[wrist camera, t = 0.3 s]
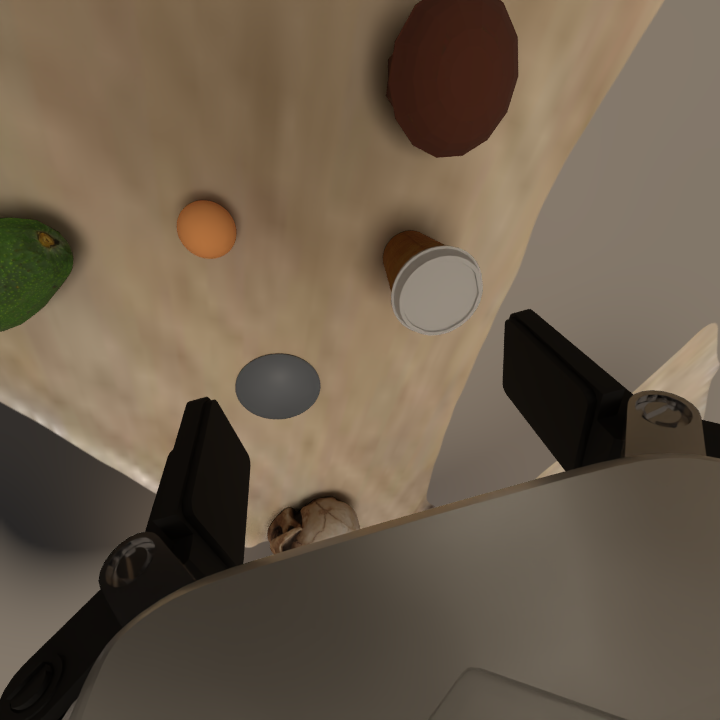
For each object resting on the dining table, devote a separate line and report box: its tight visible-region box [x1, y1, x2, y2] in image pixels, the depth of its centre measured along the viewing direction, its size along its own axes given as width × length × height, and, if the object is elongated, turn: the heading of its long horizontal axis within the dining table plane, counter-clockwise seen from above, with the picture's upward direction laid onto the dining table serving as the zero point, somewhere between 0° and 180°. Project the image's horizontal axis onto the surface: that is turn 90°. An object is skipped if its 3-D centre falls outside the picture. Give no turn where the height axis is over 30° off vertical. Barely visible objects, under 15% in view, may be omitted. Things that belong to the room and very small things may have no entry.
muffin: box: [386, 0, 518, 158], centre depth 33 cm, size 12×11×10 cm
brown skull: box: [268, 497, 360, 554], centre depth 70 cm, size 16×17×13 cm
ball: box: [177, 200, 236, 259], centre depth 38 cm, size 6×6×6 cm
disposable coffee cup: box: [383, 231, 483, 335], centre depth 42 cm, size 10×10×12 cm
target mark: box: [236, 354, 320, 419], centre depth 55 cm, size 12×12×1 cm
